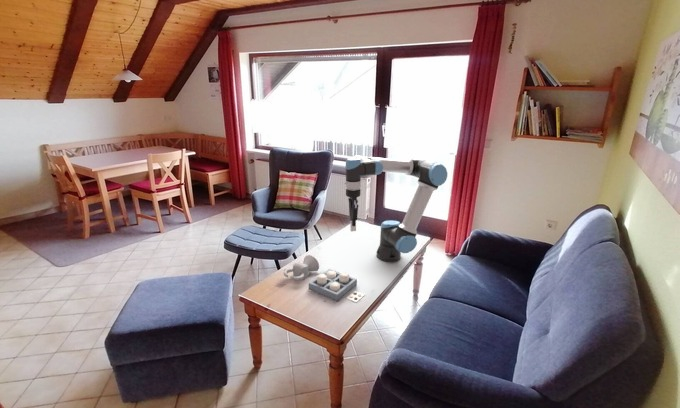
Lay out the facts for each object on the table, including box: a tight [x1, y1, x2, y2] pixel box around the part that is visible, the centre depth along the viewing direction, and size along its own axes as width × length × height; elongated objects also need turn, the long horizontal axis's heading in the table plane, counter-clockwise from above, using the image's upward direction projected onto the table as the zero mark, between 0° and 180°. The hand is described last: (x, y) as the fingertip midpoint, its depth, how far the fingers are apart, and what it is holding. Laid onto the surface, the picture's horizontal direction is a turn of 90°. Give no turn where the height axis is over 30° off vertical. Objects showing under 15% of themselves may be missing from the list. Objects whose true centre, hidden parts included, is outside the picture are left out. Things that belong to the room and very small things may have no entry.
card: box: [345, 290, 365, 304], centre depth 171 cm, size 8×6×1 cm
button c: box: [339, 271, 350, 284], centre depth 178 cm, size 5×5×4 cm
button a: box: [330, 282, 340, 292], centre depth 172 cm, size 5×5×4 cm
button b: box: [316, 273, 327, 286], centre depth 176 cm, size 5×5×4 cm
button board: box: [308, 268, 358, 303], centre depth 178 cm, size 18×18×4 cm
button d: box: [326, 270, 337, 280], centre depth 183 cm, size 5×5×4 cm
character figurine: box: [283, 254, 320, 281], centre depth 188 cm, size 13×9×20 cm
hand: (353, 230), depth 182 cm, fingers closed
